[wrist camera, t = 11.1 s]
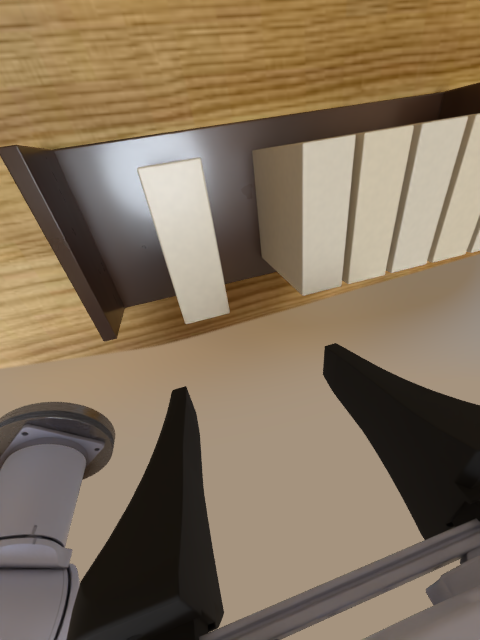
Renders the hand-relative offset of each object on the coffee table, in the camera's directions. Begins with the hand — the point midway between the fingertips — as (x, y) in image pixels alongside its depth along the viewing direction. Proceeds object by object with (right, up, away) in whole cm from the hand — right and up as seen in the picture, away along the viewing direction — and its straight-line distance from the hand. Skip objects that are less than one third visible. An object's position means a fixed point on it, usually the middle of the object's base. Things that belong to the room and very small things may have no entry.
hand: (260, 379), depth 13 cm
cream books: (+7, +12, +6) cm, 15 cm away
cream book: (-5, +9, +4) cm, 12 cm away
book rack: (+1, +12, +6) cm, 13 cm away
